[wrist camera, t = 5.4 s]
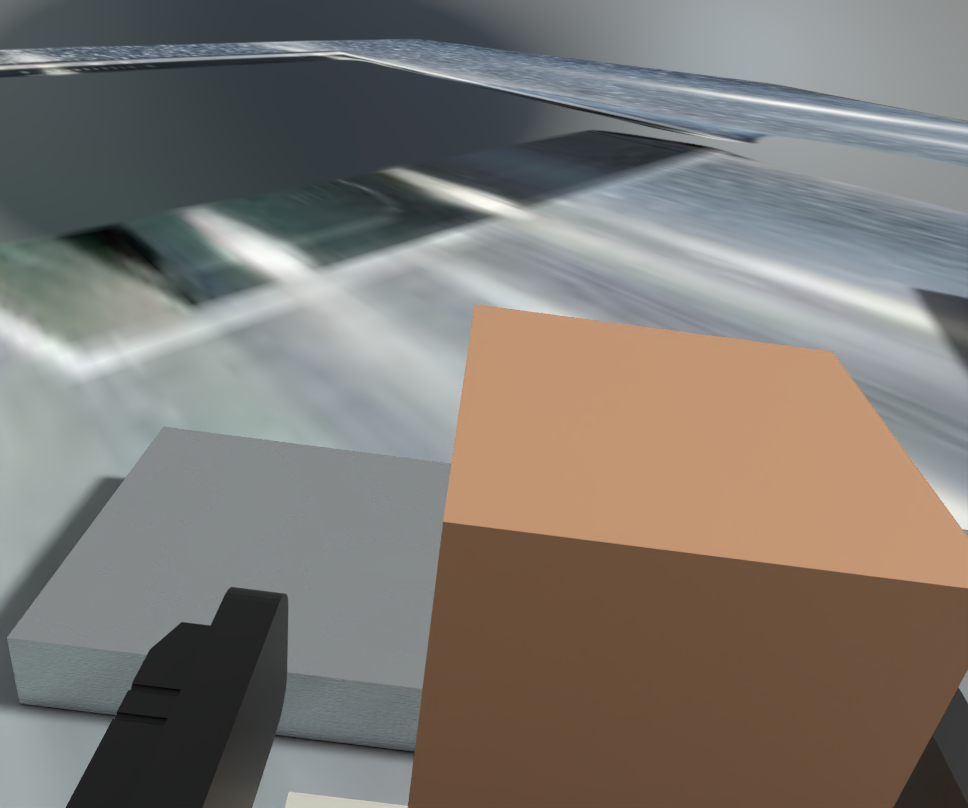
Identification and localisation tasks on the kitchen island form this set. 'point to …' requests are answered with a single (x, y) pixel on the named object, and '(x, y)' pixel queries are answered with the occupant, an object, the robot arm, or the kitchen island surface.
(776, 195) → the kitchen island surface
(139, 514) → the grey slotted base
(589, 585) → the block
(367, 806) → the pad
